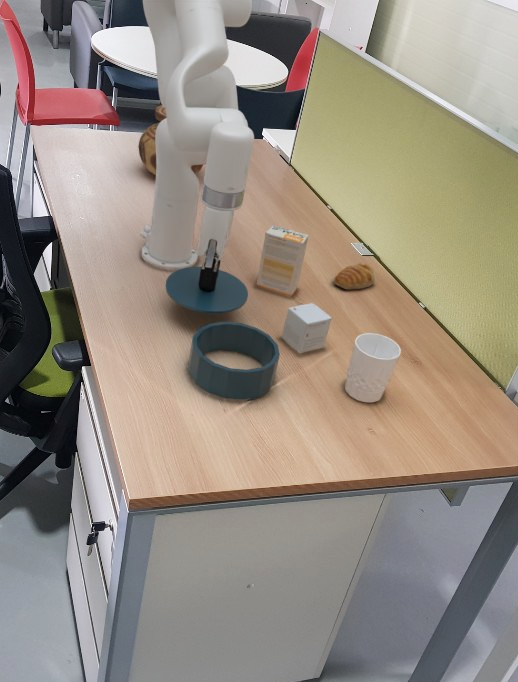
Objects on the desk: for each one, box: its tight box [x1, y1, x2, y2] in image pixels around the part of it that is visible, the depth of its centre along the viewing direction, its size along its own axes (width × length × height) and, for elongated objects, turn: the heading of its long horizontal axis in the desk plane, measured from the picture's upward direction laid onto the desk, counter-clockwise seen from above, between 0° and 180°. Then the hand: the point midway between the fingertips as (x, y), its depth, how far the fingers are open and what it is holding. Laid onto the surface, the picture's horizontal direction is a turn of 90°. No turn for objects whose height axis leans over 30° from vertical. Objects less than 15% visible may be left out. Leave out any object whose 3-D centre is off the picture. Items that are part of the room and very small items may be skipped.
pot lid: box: [164, 260, 249, 315], centre depth 144 cm, size 16×16×7 cm
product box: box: [281, 302, 333, 354], centre depth 142 cm, size 6×6×7 cm
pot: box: [188, 321, 281, 402], centre depth 132 cm, size 15×15×6 cm
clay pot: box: [138, 104, 204, 176], centre depth 203 cm, size 19×19×20 cm
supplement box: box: [255, 224, 309, 297], centre depth 158 cm, size 8×5×13 cm, turn 65°
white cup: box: [344, 332, 402, 404], centre depth 131 cm, size 8×8×10 cm
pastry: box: [334, 262, 376, 291], centre depth 166 cm, size 9×7×4 cm
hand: (208, 281), depth 144 cm, fingers closed on pot lid, 3 cm apart
